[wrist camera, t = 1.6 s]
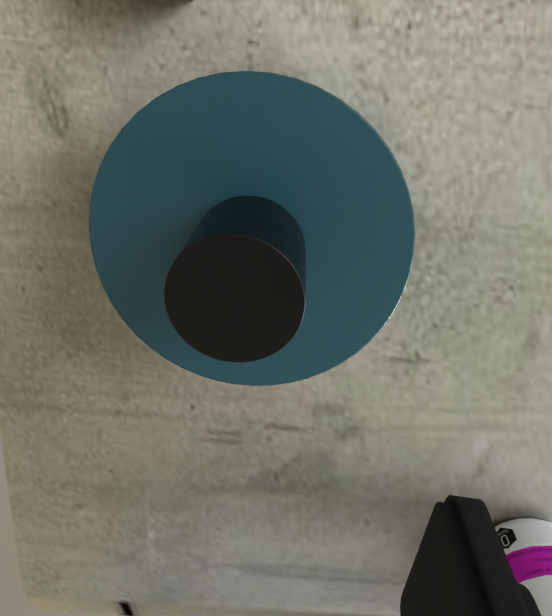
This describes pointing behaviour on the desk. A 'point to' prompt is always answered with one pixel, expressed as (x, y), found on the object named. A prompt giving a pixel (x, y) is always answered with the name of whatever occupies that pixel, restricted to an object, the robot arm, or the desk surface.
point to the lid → (252, 228)
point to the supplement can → (530, 557)
